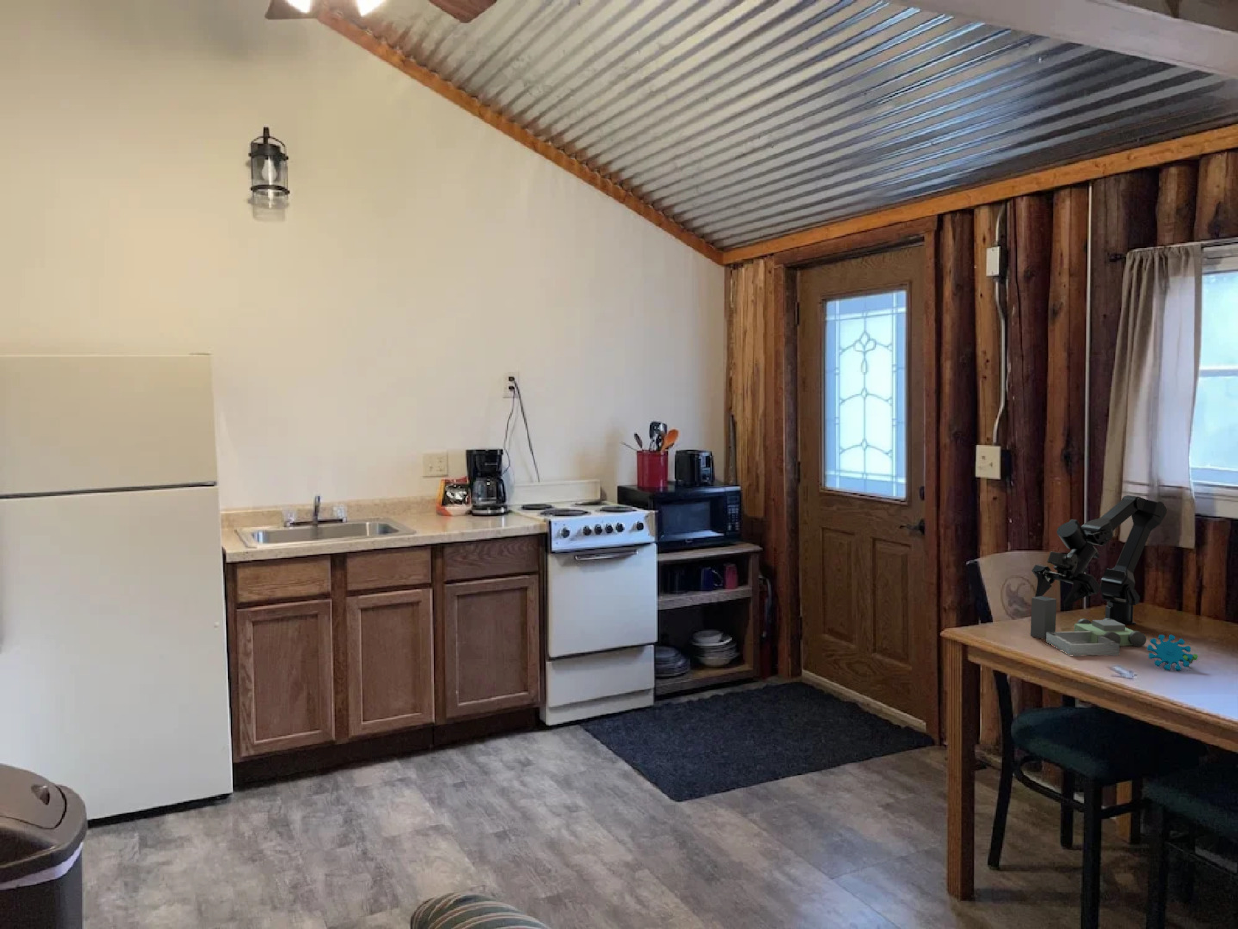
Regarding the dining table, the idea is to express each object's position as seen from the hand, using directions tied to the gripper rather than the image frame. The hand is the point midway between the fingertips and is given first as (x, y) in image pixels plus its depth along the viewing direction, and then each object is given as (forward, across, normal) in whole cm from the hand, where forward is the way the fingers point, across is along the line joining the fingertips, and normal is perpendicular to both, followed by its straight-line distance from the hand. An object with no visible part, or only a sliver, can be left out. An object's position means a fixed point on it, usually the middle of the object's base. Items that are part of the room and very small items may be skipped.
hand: (1050, 601), depth 266 cm
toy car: (0, +10, +14) cm, 18 cm away
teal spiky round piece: (+6, +35, +8) cm, 36 cm away
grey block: (+9, 0, +5) cm, 10 cm away
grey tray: (+10, +13, +4) cm, 17 cm away
